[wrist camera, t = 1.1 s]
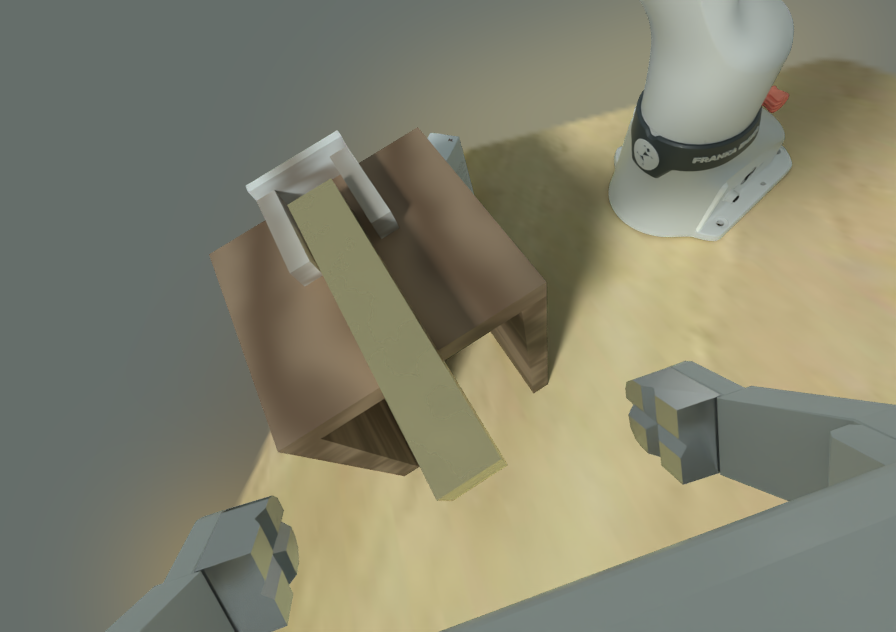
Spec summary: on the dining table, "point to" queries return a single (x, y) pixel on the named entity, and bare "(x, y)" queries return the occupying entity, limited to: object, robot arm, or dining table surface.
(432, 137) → the skincare box
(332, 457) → the stand
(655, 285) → the dining table surface
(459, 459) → the bar
